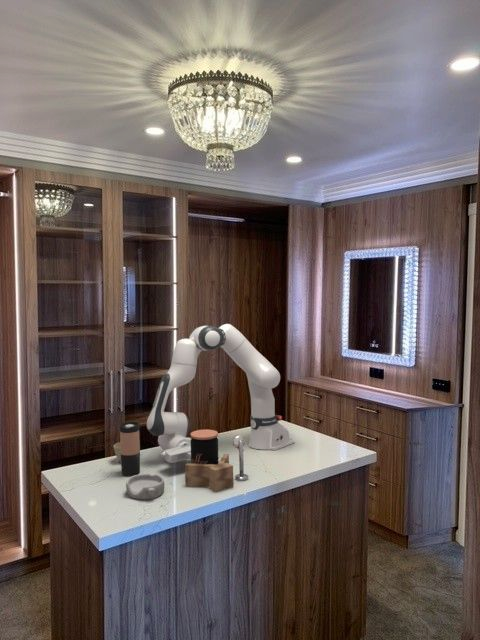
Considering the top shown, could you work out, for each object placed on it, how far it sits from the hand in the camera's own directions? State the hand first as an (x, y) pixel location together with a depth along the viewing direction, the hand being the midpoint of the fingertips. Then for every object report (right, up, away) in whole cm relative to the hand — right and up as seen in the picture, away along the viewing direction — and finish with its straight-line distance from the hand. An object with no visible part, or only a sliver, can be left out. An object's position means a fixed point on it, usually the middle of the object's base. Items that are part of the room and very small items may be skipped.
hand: (198, 457), depth 191 cm
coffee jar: (+3, -7, -4) cm, 9 cm away
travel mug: (-28, -8, +3) cm, 29 cm away
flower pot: (-33, -7, +18) cm, 38 cm away
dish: (-18, -9, -16) cm, 25 cm away
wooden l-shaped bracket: (+7, -7, -9) cm, 14 cm away
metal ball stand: (+17, -7, -4) cm, 19 cm away
